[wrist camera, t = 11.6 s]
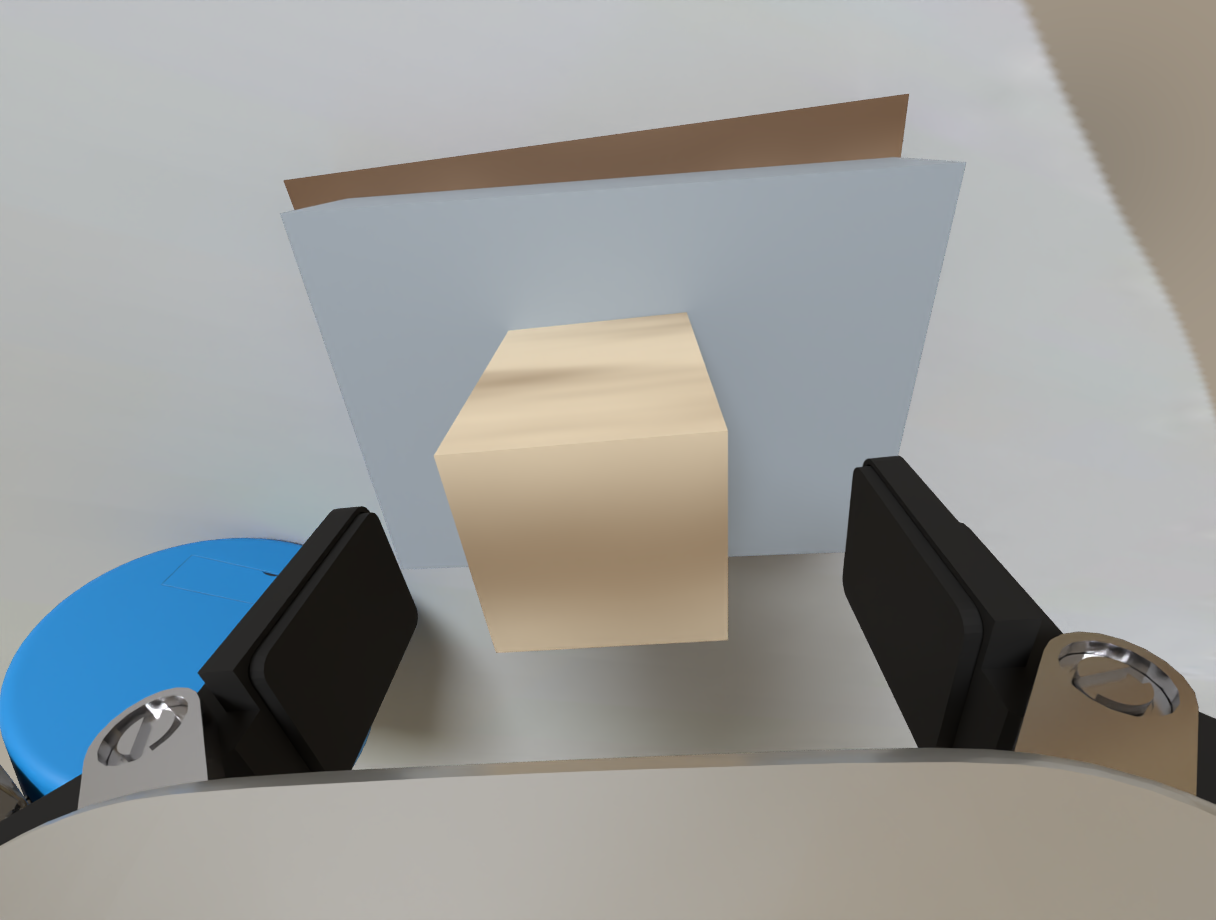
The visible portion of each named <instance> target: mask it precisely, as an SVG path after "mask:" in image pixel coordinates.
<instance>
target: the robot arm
mask: <svg viewBox="0 0 1216 920" xmlns="http://www.w3.org/2000/svg"><path fill="white" fill-rule="evenodd" d="M843 587H844V591H845V595H846V597H847V599H848V601H849V604H850V606H851V608H852V610H853V612H854V614H855V616H856V618H857V620H858V622H859V625H860V627H861V629H862V631H863V633H864V635H865V637H866V639H867V641H868V643H869V645H870V648H871V650H872V652H873V654H874V656H875V658H876V660H877V662H878V664H879V666H880V669H881V671H882V673H883V675H884V677H885V679H886V681H887V683H888V685H889V687H890V689H891V692H892V694H893V696H894V698H895V700H896V702H897V704H898V706H899V708H900V710H901V712H902V715H903V717H904V719H905V721H906V723H907V725H908V727H909V729H910V731H911V733H912V736H913V738H914V740H915V742H916V744H917V746H918V748H891V749H845V750H806V751H780V752H754V753H728V754H702V755H675V756H650V757H626V758H603V759H580V760H556V761H534V762H512V763H489V764H467V765H446V766H426V767H406V768H386V769H366V770H352V768H353V765H354V763H355V761H356V759H357V757H358V754H359V752H360V750H361V748H362V745H363V743H364V741H365V739H366V737H367V734H368V732H369V730H370V728H371V726H372V723H373V721H374V719H375V717H376V714H377V712H378V710H379V708H380V706H381V703H382V701H383V699H384V697H385V695H386V692H387V690H388V688H389V686H390V683H391V681H392V679H393V677H394V675H395V672H396V670H397V668H398V666H399V664H400V661H401V659H402V657H403V655H404V652H405V650H406V648H407V646H408V644H409V641H410V639H411V637H412V635H413V633H414V630H415V628H416V625H417V620H418V614H417V609H416V606H415V604H414V601H413V599H412V597H411V594H410V592H409V589H408V587H407V585H406V582H405V580H404V577H403V575H402V573H401V570H400V568H399V565H398V563H397V561H396V558H395V556H394V553H393V551H392V549H391V546H390V544H389V542H388V539H387V537H386V534H385V532H384V530H383V527H382V525H381V522H380V520H379V518H378V516H377V515H376V514H375V513H370V512H369V510H368V509H367V508H366V507H362V506H361V507H350V508H340V509H334V510H333V511H331V512H330V513H329V514H328V516H327V517H326V518H325V519H324V521H323V522H322V523H321V524H320V525H319V527H318V528H317V529H316V530H315V531H314V533H313V534H312V535H311V536H310V537H309V539H308V540H307V541H306V542H305V543H304V545H303V546H302V547H301V548H300V549H299V551H298V552H297V553H296V554H295V555H294V557H293V558H292V559H291V560H290V562H289V563H288V564H287V565H286V566H285V568H284V569H283V570H282V571H281V572H280V574H279V575H278V576H277V577H276V578H275V580H274V581H273V582H272V583H271V584H270V586H269V587H268V588H267V589H266V590H265V592H264V593H263V594H262V595H261V596H260V598H259V599H258V600H257V601H256V603H255V604H254V605H253V606H252V607H251V609H250V610H249V611H248V612H247V613H246V615H245V616H244V617H243V618H242V619H241V621H240V622H239V623H238V624H237V625H236V627H235V628H234V629H233V630H232V631H231V633H230V634H229V635H228V636H227V637H226V639H225V640H224V641H223V642H222V644H221V645H220V646H219V647H218V648H217V650H216V651H215V652H214V653H213V654H212V656H211V657H210V658H209V659H208V660H207V662H206V663H205V664H204V665H203V666H202V668H201V669H200V670H199V671H198V672H197V673H198V674H199V676H200V677H201V678H202V680H203V681H204V682H205V684H204V685H203V686H202V688H201V689H200V690H199V691H198V693H197V692H196V691H194V690H192V689H190V688H178V687H176V688H172V689H167V690H163V691H160V692H158V693H155V694H153V695H151V696H148V697H146V698H144V699H142V700H140V701H139V702H137V703H135V704H134V705H132V706H130V707H129V708H127V709H126V710H124V711H123V712H122V713H121V714H119V715H118V716H117V717H115V718H114V719H113V720H111V721H110V722H109V723H108V725H107V726H106V727H105V728H104V729H103V730H102V731H101V732H100V733H99V734H98V735H97V736H96V738H95V739H94V740H93V742H92V743H91V745H90V746H89V748H88V750H87V753H86V756H85V759H84V762H83V770H82V774H81V775H79V776H77V777H75V778H74V779H72V780H70V781H69V782H67V783H65V784H64V785H62V786H60V787H58V788H57V789H55V790H53V791H52V792H50V793H48V794H46V795H45V796H43V797H41V798H40V799H38V800H36V801H34V802H33V803H31V804H29V805H28V806H26V807H24V808H23V809H21V810H19V811H17V812H16V813H14V814H12V815H11V816H9V817H7V818H5V819H4V820H2V821H0V920H1216V719H1215V718H1212V717H1210V716H1208V715H1205V714H1203V713H1201V712H1199V707H1198V703H1197V699H1196V695H1195V692H1194V691H1193V689H1192V688H1191V686H1190V685H1189V684H1188V682H1187V681H1186V680H1185V678H1184V677H1183V676H1182V675H1181V674H1180V673H1179V672H1177V671H1176V670H1175V669H1174V668H1173V667H1172V666H1170V665H1169V664H1168V663H1167V662H1166V661H1164V660H1163V659H1161V658H1159V657H1158V656H1156V655H1154V654H1153V653H1151V652H1149V651H1148V650H1146V649H1144V648H1142V647H1139V646H1137V645H1135V644H1132V643H1130V642H1127V641H1125V640H1123V639H1119V638H1115V637H1112V636H1108V635H1104V634H1100V633H1090V632H1072V633H1065V634H1063V633H1062V632H1061V631H1060V630H1059V628H1058V627H1057V626H1056V625H1055V624H1054V623H1053V622H1052V621H1051V619H1050V618H1049V617H1048V616H1047V615H1046V614H1045V613H1044V612H1043V610H1042V609H1041V608H1040V607H1039V606H1038V605H1037V604H1036V603H1035V601H1034V600H1033V599H1032V598H1031V597H1030V596H1029V595H1028V594H1027V592H1026V591H1025V590H1024V589H1023V588H1022V587H1021V586H1020V585H1019V583H1018V582H1017V581H1016V580H1015V579H1014V578H1013V577H1012V576H1011V574H1010V573H1009V572H1008V571H1007V570H1006V569H1005V568H1004V567H1003V565H1002V564H1001V563H1000V562H999V561H998V560H997V559H996V557H995V556H994V555H993V554H992V553H991V552H990V551H989V550H988V548H987V547H986V546H985V545H984V544H983V543H982V542H981V541H980V539H979V538H978V537H977V536H976V535H975V534H974V533H973V532H972V530H971V529H970V528H968V527H967V526H966V525H965V524H964V523H960V522H958V520H957V519H956V518H955V517H954V516H953V515H952V514H951V512H950V511H949V510H948V509H947V508H946V507H945V506H944V504H943V503H942V502H941V501H940V500H939V499H938V498H937V496H936V495H935V494H934V493H933V492H932V491H931V490H930V488H929V487H928V486H927V485H926V484H925V483H924V482H923V480H922V479H921V478H920V477H919V476H918V475H917V474H916V472H915V471H914V470H913V469H912V468H911V467H910V466H909V464H908V463H907V462H906V461H905V460H904V459H903V458H902V457H901V456H889V457H878V458H868V459H866V460H865V461H864V463H863V466H862V467H856V468H855V469H854V471H853V477H852V487H851V497H850V507H849V517H848V527H847V538H846V548H845V558H844V568H843Z"/></svg>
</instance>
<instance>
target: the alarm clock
mask: <svg viewBox="0 0 1216 920" xmlns="http://www.w3.org/2000/svg"><path fill="white" fill-rule="evenodd" d="M302 546H303V545H299V544H294V543H290V542H285V541H279V540H270V539H259V538H229V539H216V540H208V541H201V542H195V543H190V544H185V545H180V546H176V547H172V548H168V549H165V550H161V551H158V552H155V553H152V554H149V555H146V556H143V557H140V558H137V559H135V560H133V561H130V562H128V563H126V564H123V565H121V566H119V567H117V568H115V569H113V570H111V571H109V572H107V573H105V574H103V575H101V576H99V577H98V578H96V579H94V580H92V581H91V582H89V583H87V584H86V585H84V586H83V587H81V588H80V589H78V590H77V591H75V592H74V593H73V594H71V595H70V596H69V597H67V598H66V599H65V600H63V601H62V602H61V603H60V604H59V605H57V606H56V607H55V608H54V609H53V610H52V611H51V612H50V613H49V614H47V615H46V616H45V617H44V618H43V619H42V620H41V621H40V622H39V624H38V625H37V626H36V627H35V628H34V629H33V630H32V631H31V633H30V634H29V635H28V636H27V638H26V639H25V640H24V642H23V643H22V644H21V646H20V648H19V649H18V651H17V652H16V654H15V656H14V657H13V659H12V661H11V663H10V666H9V668H8V670H7V672H6V675H5V678H4V681H3V685H2V688H1V695H0V729H1V733H2V737H3V741H4V743H5V746H6V749H7V751H8V754H9V757H10V759H11V762H12V765H13V768H14V770H15V773H16V776H17V778H18V781H19V784H20V787H21V789H22V792H23V795H24V796H23V795H22V793H21V792H20V791H19V789H18V788H17V786H16V785H15V784H14V782H13V781H12V779H11V778H10V777H9V775H8V774H7V773H6V771H5V770H4V769H3V768H2V766H1V765H0V821H2V820H4V819H5V818H7V817H9V816H11V815H12V814H14V813H16V812H17V811H19V810H21V809H23V808H24V807H26V806H28V805H29V804H31V803H33V802H34V801H36V800H38V799H40V798H41V797H43V796H45V795H46V794H48V793H50V792H52V791H53V790H55V789H57V788H58V787H60V786H62V785H64V784H65V783H67V782H69V781H70V780H72V779H74V778H75V777H77V776H79V775H81V774H82V770H83V762H84V759H85V756H86V753H87V750H88V748H89V746H90V745H91V743H92V742H93V740H94V739H95V738H96V736H97V735H98V734H99V733H100V732H101V731H102V730H103V729H104V728H105V727H106V726H107V725H108V723H109V722H110V721H111V720H113V719H114V718H115V717H117V716H118V715H119V714H121V713H122V712H123V711H124V710H126V709H127V708H129V707H130V706H132V705H134V704H135V703H137V702H139V701H140V700H142V699H144V698H146V697H148V696H151V695H153V694H155V693H158V692H160V691H163V690H167V689H172V688H176V687H178V688H190V689H192V690H194V691H196V692H197V693H198V691H199V690H200V689H201V688H202V686H203V685H204V684H205V682H204V681H203V680H202V678H201V677H200V676H199V674H198V673H197V672H198V671H199V670H200V669H201V668H202V666H203V665H204V664H205V663H206V662H207V660H208V659H209V658H210V657H211V656H212V654H213V653H214V652H215V651H216V650H217V648H218V647H219V646H220V645H221V644H222V642H223V641H224V640H225V639H226V637H227V636H228V635H229V634H230V633H231V631H232V630H233V629H234V628H235V627H236V625H237V624H238V623H239V622H240V621H241V619H242V618H243V617H244V616H245V615H246V613H247V612H248V611H249V610H250V609H251V607H252V606H253V605H254V604H255V603H256V601H257V600H258V599H259V598H260V596H261V595H262V594H263V593H264V592H265V590H266V589H267V588H268V587H269V586H270V584H271V583H272V582H273V581H274V580H275V578H276V577H277V576H278V575H279V574H280V572H281V571H282V570H283V569H284V568H285V566H286V565H287V564H288V563H289V562H290V560H291V559H292V558H293V557H294V555H295V554H296V553H297V552H298V551H299V549H300V548H301V547H302ZM370 730H371V728H370ZM370 730H369V732H368V734H367V737H366V739H365V741H364V743H363V745H362V748H361V750H360V752H359V754H358V757H357V759H358V758H359V756H360V754H361V752H362V750H363V748H364V746H365V744H366V741H367V738H368V735H369V733H370ZM357 759H356V761H357ZM356 761H355V763H356ZM355 763H354V764H355ZM353 766H354V765H353Z"/></svg>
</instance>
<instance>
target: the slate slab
mask: <svg viewBox="0 0 1216 920" xmlns="http://www.w3.org/2000/svg"><path fill="white" fill-rule="evenodd" d="M965 166H966V162H956V161H942V160H928V159H914V158H900V157H890V158H877V159H863V160H850V161H837V162H823V163H810V164H797V165H784V166H770V167H757V168H744V169H731V170H717V171H704V172H691V173H677V174H664V175H651V176H638V177H624V178H611V179H598V180H585V181H571V182H558V183H545V184H532V185H518V186H505V187H492V188H479V189H465V190H452V191H439V192H426V193H412V194H399V195H386V196H373V197H360V198H347V199H343V200H338V201H334V202H329V203H325V204H320V205H316V206H311V207H307V208H302V209H298V210H293V211H289V212H284V213H280V215H281V218H282V221H283V224H284V227H285V230H286V232H287V235H288V238H289V241H290V244H291V247H292V250H293V253H294V256H295V259H296V262H297V265H298V267H299V270H300V273H301V276H302V279H303V282H304V285H305V288H306V291H307V294H308V297H309V300H310V303H311V305H312V308H313V311H314V314H315V317H316V320H317V323H318V326H319V329H320V332H321V335H322V338H323V341H324V343H325V346H326V349H327V352H328V355H329V358H330V361H331V364H332V367H333V370H334V373H335V376H336V378H337V381H338V384H339V387H340V390H341V393H342V396H343V399H344V402H345V405H346V408H347V411H348V414H349V416H350V419H351V422H352V425H353V428H354V431H355V434H356V437H357V440H358V443H359V446H360V449H361V451H362V454H363V457H364V460H365V463H366V466H367V469H368V472H369V475H370V478H371V481H372V484H373V487H374V489H375V492H376V495H377V498H378V501H379V504H380V507H381V510H382V513H383V516H384V519H385V522H386V524H387V527H388V530H389V533H390V536H391V539H392V542H393V545H394V548H395V551H396V554H397V557H398V560H399V562H400V565H401V568H402V569H425V568H451V567H469V566H468V563H467V559H466V556H465V553H464V550H463V547H462V544H461V541H460V537H459V534H458V531H457V528H456V525H455V522H454V518H453V515H452V512H451V509H450V506H449V503H448V500H447V496H446V493H445V490H444V487H443V484H442V481H441V478H440V474H439V471H438V468H437V465H436V462H435V459H434V454H435V453H436V451H437V449H438V448H439V446H440V444H441V443H442V441H443V439H444V438H445V436H446V434H447V433H448V431H449V429H450V428H451V426H452V424H453V423H454V421H455V419H456V418H457V416H458V414H459V413H460V411H461V409H462V408H463V406H464V404H465V403H466V401H467V399H468V397H469V396H470V394H471V392H472V391H473V389H474V387H475V386H476V384H477V382H478V381H479V379H480V377H481V376H482V374H483V372H484V371H485V369H486V367H487V366H488V364H489V362H490V361H491V359H492V357H493V356H494V354H495V352H496V351H497V349H498V347H499V346H500V344H501V342H502V341H503V339H504V337H505V336H506V334H507V332H508V331H510V330H520V329H529V328H539V327H548V326H558V325H568V324H578V323H587V322H597V321H607V320H616V319H626V318H636V317H646V316H655V315H665V314H675V313H684V312H687V315H688V317H689V320H690V323H691V326H692V329H693V332H694V335H695V338H696V340H697V343H698V346H699V349H700V352H701V355H702V358H703V361H704V363H705V366H706V369H707V372H708V375H709V378H710V381H711V384H712V386H713V389H714V392H715V395H716V398H717V401H718V404H719V407H720V409H721V412H722V415H723V418H724V421H725V424H726V427H727V430H728V557H733V556H758V555H784V554H810V553H835V552H845V548H846V538H847V527H848V517H849V507H850V497H851V487H852V477H853V471H854V469H855V468H856V467H862V466H863V463H864V461H865V460H866V459H868V458H878V457H889V456H898V454H899V449H900V445H901V441H902V436H903V432H904V428H905V423H906V419H907V415H908V411H909V406H910V402H911V398H912V393H913V389H914V385H915V381H916V376H917V372H918V368H919V363H920V359H921V355H922V350H923V346H924V342H925V338H926V333H927V329H928V325H929V320H930V316H931V312H932V307H933V303H934V299H935V295H936V290H937V286H938V282H939V277H940V273H941V269H942V264H943V260H944V256H945V252H946V247H947V243H948V239H949V234H950V230H951V226H952V222H953V217H954V213H955V209H956V204H957V200H958V196H959V191H960V187H961V183H962V179H963V174H964V170H965Z"/></svg>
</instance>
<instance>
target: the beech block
mask: <svg viewBox="0 0 1216 920" xmlns="http://www.w3.org/2000/svg"><path fill="white" fill-rule="evenodd" d="M434 459H435V462H436V465H437V468H438V471H439V474H440V478H441V481H442V484H443V487H444V490H445V493H446V496H447V500H448V503H449V506H450V509H451V512H452V515H453V518H454V522H455V525H456V528H457V531H458V534H459V537H460V541H461V544H462V547H463V550H464V553H465V556H466V559H467V563H468V566H469V569H470V572H471V575H472V578H473V582H474V585H475V588H476V591H477V594H478V597H479V600H480V604H481V607H482V610H483V613H484V616H485V619H486V622H487V626H488V629H489V632H490V635H491V638H492V641H493V645H494V648H495V651H496V653H503V652H521V651H539V650H558V649H576V648H594V647H612V646H631V645H649V644H667V643H686V642H704V641H722V640H728V430H727V427H726V424H725V421H724V418H723V415H722V412H721V409H720V407H719V404H718V401H717V398H716V395H715V392H714V389H713V386H712V384H711V381H710V378H709V375H708V372H707V369H706V366H705V363H704V361H703V358H702V355H701V352H700V349H699V346H698V343H697V340H696V338H695V335H694V332H693V329H692V326H691V323H690V320H689V317H688V315H687V312H684V313H675V314H665V315H655V316H646V317H636V318H626V319H616V320H607V321H597V322H587V323H578V324H568V325H558V326H548V327H539V328H529V329H520V330H510V331H508V332H507V334H506V336H505V337H504V339H503V341H502V342H501V344H500V346H499V347H498V349H497V351H496V352H495V354H494V356H493V357H492V359H491V361H490V362H489V364H488V366H487V367H486V369H485V371H484V372H483V374H482V376H481V377H480V379H479V381H478V382H477V384H476V386H475V387H474V389H473V391H472V392H471V394H470V396H469V397H468V399H467V401H466V403H465V404H464V406H463V408H462V409H461V411H460V413H459V414H458V416H457V418H456V419H455V421H454V423H453V424H452V426H451V428H450V429H449V431H448V433H447V434H446V436H445V438H444V439H443V441H442V443H441V444H440V446H439V448H438V449H437V451H436V453H435V454H434Z"/></svg>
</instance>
